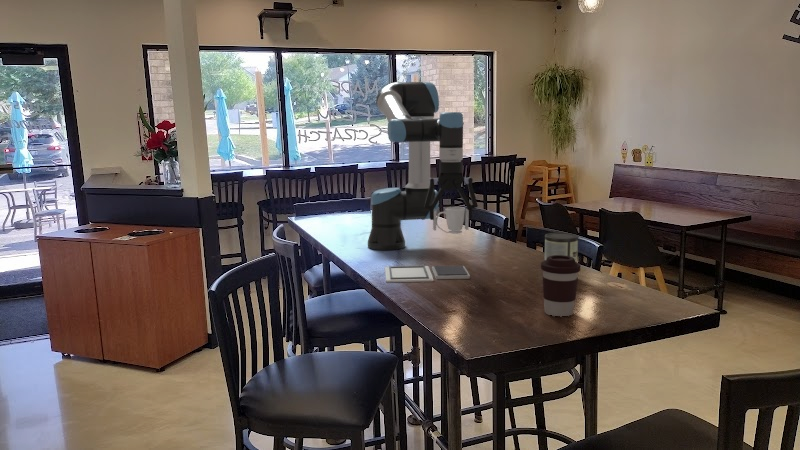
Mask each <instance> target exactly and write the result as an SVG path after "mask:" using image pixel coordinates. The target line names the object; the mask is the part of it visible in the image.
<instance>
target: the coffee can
mask: <svg viewBox="0 0 800 450" xmlns="http://www.w3.org/2000/svg"><path fill="white" fill-rule="evenodd" d="M578 242H579V235H577V234H574V233H570V232H550V233H549V232H548V233H545V235H544V260H543V261H546V259H547V257H549V256H552V255H565V256H570V257H573V258H574V259H575V262H577V263H578V251H579V250H578V248H579V246H578V245H579V243H578Z"/></svg>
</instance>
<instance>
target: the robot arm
mask: <svg viewBox="0 0 800 450" xmlns="http://www.w3.org/2000/svg"><path fill="white" fill-rule="evenodd" d="M375 105H376V107H377V110H378V111H379V112H380V113H381V114H382V115H384V116H385V118H386V120H387V122H388V123H387V136H388V137H387V138H388V140H389V141H390V142H391V143H408V183H407V184H406V185H405V186H404V187H405V189H404V190H401V188H400V187H387V188H381V189H377V190H374V191H373V192H372V193H371V200H370V201H371V202H370V205H371V206H370V207H371V229H370V233H369V236H368V240H367V248H369V249H370V250H378V251H393V250H401V249H404V248H405V247H406V239H405V237H404V233H403V230H402V227H401V226H402V225H401V224H402V221H415V220H416V221H417V220H422V221H424V220H431V221H432V229H433V231H437V225H436V217H437V214H438V209H439V202H440V199H441V198H442V195H443V194H444V193H445V191H451V190H453V191H457V192H458V193H459V195H460V197H461V199H462V201H463V202H464V203H465V206H466V207H467V208H465V215H464V229H465V231H469V230H470V229H469V223H470V221H469V220H472V218H473V209H476V208H478V206H479V205H478V201H477V198H476V194H475V190H474V187H473V180H474V179H473V177H465V176H464V173H463V171H464V170H463V169H464V168H463V167H464V163H463V159H464V155H463V154H464V153H463V152H464V115H463V113H462V112H460V111H459V112H458V111H455V112H454V111H452V112H451V111H450V112H447V111H446V112H440V114H439V117H438V118H435V114H436V113H438V112H439V108H440V97H439V93H438V89H437V87H436V85H435V83H433V82H426V81H402V82H401V81H394V82H391V83H388V84H386V85H385V86H383V87H382V88H381V89H380V90H379V91H378V93H377V95H376V98H375ZM431 142H439V154H438V155H439V158H438V159H439V160H440V161H439V171H438V172H439V173H438V177H431ZM437 182H438V183H439V184H440V185H441V186H440V188H438V189H439V190H438V191H437V190H436V189H435V185H437ZM464 182H465V184H466V185H467V189H468V192H469V196H470V197H469V198H470V201H471V202H470V201H469V199H468V197H467V196H466V193H465V192H464V190H463V188H462V187H461V186H462V184H463V183H464Z"/></svg>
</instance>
